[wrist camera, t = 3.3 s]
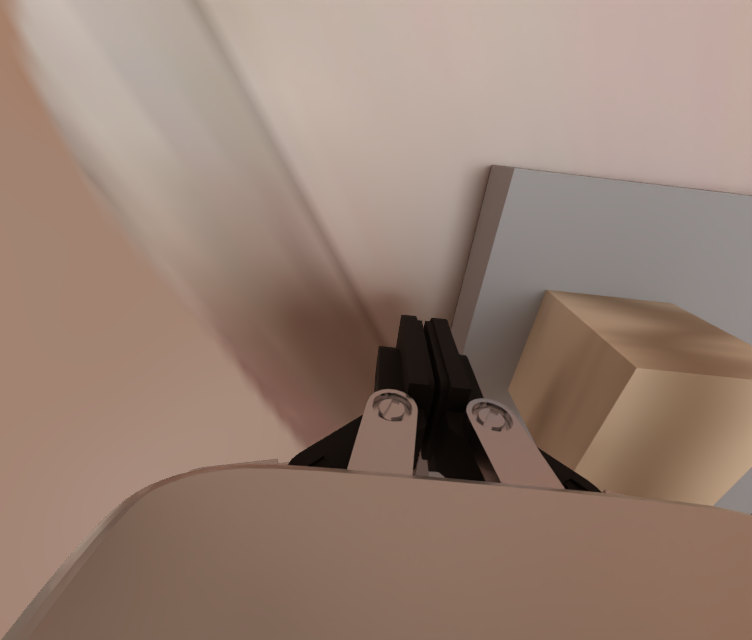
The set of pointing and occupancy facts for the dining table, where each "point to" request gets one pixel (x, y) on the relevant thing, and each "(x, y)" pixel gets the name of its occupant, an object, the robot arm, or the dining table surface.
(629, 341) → the block
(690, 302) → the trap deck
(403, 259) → the dining table surface
